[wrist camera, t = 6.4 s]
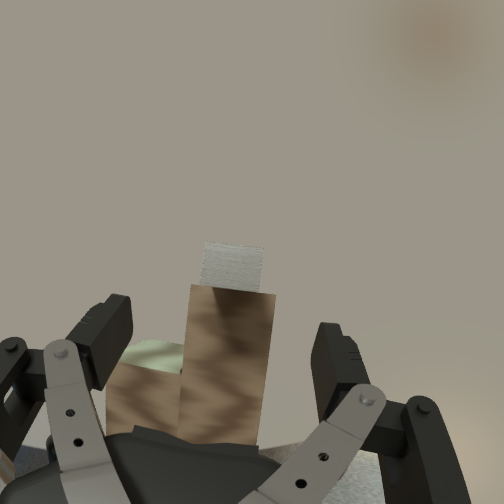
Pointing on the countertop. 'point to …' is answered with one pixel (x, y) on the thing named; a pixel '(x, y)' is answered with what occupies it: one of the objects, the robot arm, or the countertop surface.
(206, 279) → the steel bar
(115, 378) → the walnut stand
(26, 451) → the countertop surface
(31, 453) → the countertop surface
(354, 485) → the countertop surface
